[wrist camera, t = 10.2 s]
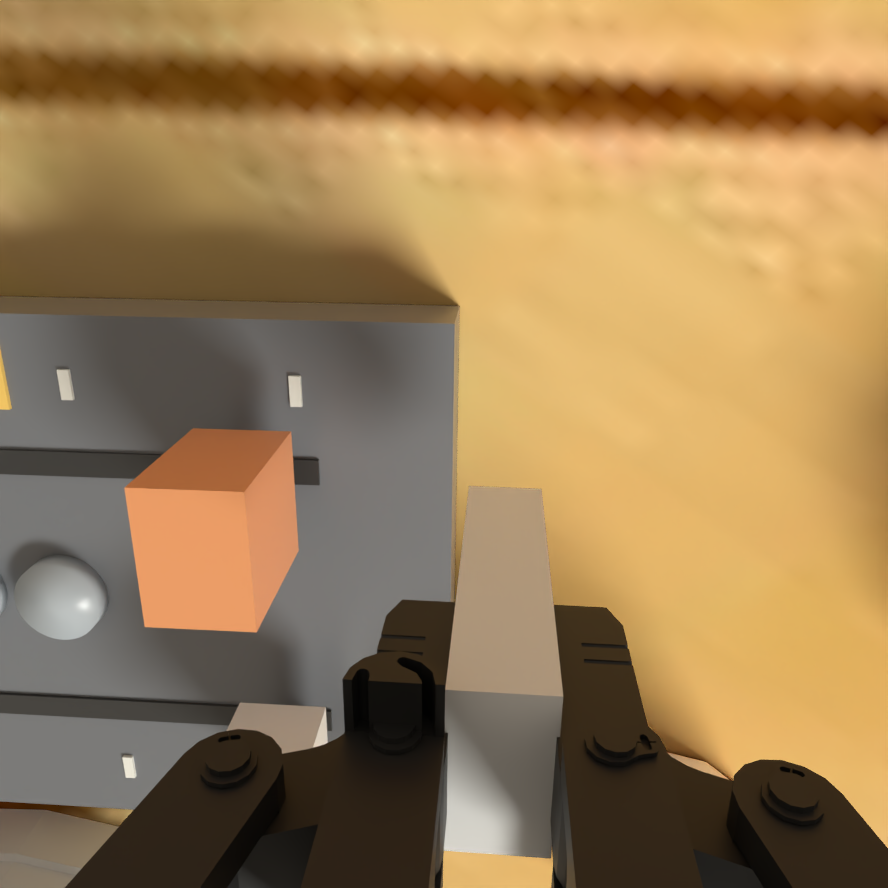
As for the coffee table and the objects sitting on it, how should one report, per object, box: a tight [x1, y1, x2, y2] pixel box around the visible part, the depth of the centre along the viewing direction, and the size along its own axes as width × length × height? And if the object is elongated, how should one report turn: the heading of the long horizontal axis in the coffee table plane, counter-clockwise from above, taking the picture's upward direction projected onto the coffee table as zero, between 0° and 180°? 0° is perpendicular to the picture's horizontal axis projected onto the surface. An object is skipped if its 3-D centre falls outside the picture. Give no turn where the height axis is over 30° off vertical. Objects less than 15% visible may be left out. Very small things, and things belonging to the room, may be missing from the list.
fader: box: [124, 428, 299, 632], centre depth 18 cm, size 2×3×5 cm
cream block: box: [227, 703, 328, 754], centre depth 20 cm, size 2×3×5 cm
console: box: [0, 296, 459, 810], centre depth 23 cm, size 20×16×3 cm
